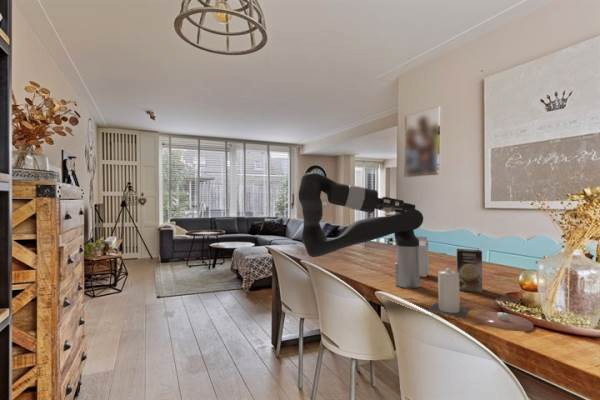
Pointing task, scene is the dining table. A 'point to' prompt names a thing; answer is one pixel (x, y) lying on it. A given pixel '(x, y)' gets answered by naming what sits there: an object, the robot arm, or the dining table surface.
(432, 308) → the cover mat
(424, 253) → the milk carton
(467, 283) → the coffee box
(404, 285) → the robot arm
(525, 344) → the dining table surface
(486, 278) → the dining table surface
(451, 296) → the cover
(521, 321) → the tea light plate
